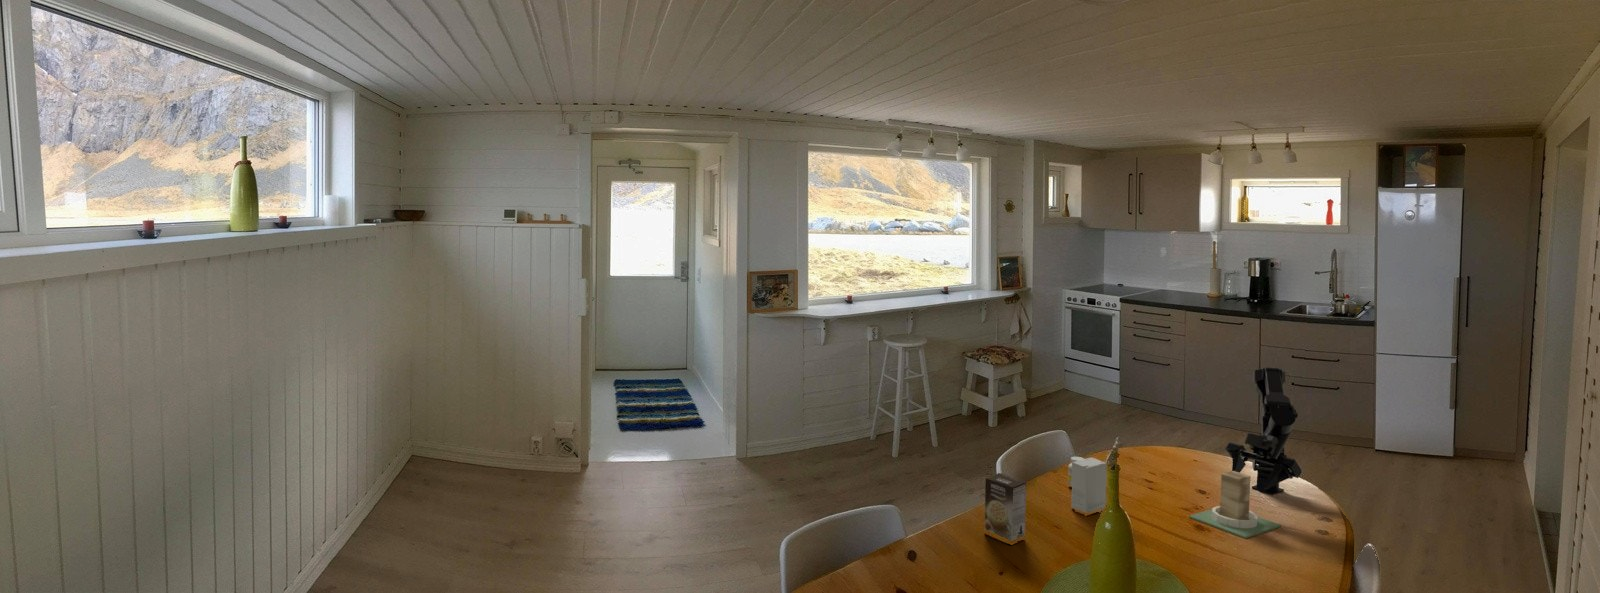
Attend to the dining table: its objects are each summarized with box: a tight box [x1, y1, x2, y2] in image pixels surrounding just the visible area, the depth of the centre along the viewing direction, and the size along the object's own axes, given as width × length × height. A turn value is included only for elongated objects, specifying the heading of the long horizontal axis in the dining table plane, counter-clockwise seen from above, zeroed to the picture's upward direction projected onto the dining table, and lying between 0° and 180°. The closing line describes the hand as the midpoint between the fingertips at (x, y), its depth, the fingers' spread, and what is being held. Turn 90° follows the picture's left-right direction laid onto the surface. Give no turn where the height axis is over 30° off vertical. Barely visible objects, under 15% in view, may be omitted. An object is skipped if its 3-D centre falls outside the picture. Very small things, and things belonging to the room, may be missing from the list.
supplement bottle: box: [1067, 456, 1085, 486], centre depth 230 cm, size 5×5×10 cm
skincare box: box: [1070, 457, 1108, 513], centre depth 211 cm, size 8×6×15 cm
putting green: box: [1188, 505, 1282, 539], centre depth 202 cm, size 16×16×2 cm
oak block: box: [1219, 470, 1252, 520], centre depth 202 cm, size 5×5×13 cm
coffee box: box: [984, 472, 1027, 541], centre depth 193 cm, size 9×6×16 cm
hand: (1248, 483), depth 204 cm, fingers open, 9 cm apart
